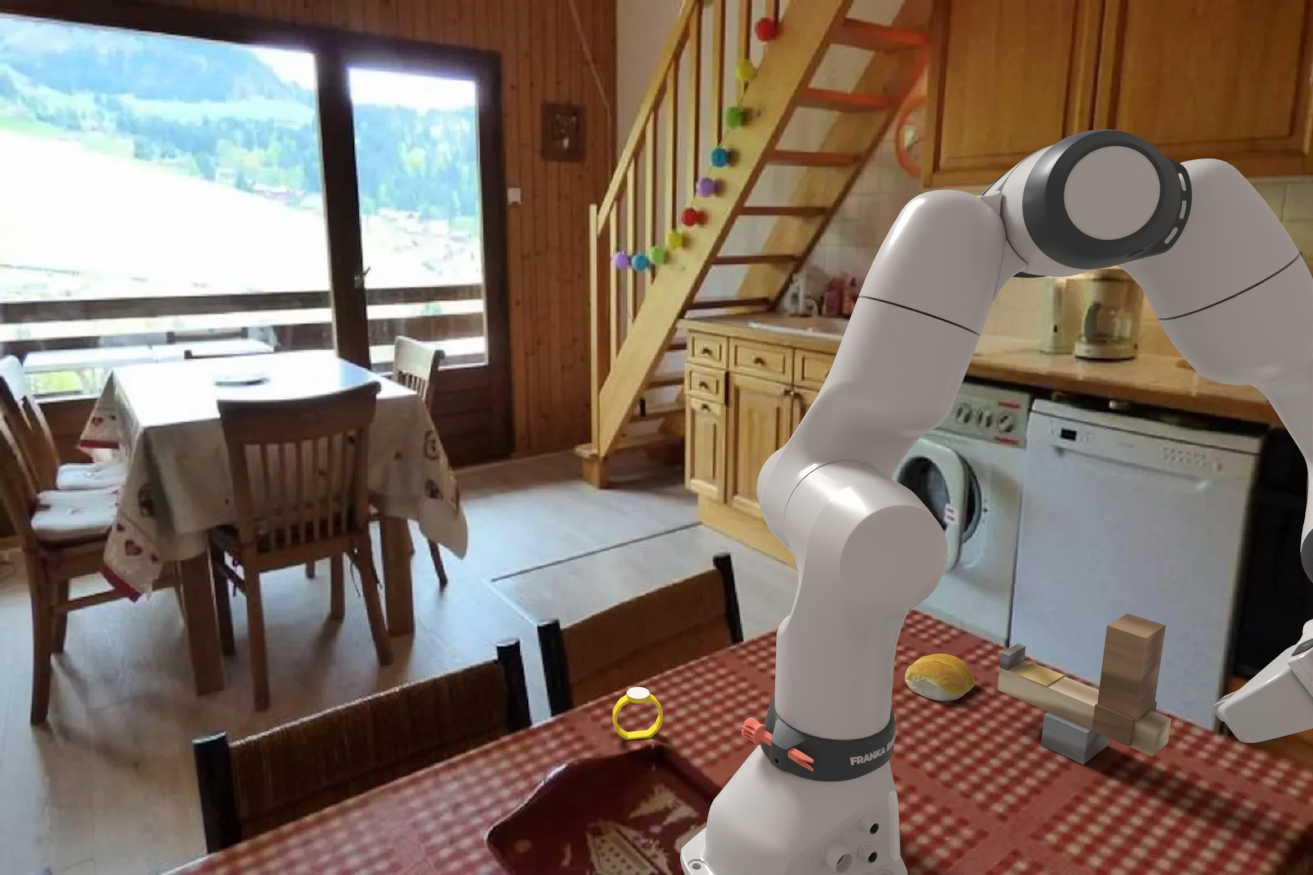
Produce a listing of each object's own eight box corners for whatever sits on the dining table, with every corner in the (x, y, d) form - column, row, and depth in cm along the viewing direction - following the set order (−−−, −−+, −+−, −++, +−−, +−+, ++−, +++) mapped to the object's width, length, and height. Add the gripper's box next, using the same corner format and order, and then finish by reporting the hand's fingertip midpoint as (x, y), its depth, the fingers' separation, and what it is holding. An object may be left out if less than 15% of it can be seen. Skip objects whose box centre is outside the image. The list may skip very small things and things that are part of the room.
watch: (659, 729, 105) (662, 685, 104) (662, 742, 103) (666, 697, 102) (610, 731, 104) (613, 687, 103) (613, 744, 102) (616, 699, 100)
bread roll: (982, 684, 116) (984, 656, 115) (953, 710, 109) (955, 681, 108) (925, 664, 121) (927, 638, 120) (894, 687, 115) (895, 660, 114)
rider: (1128, 746, 93) (1143, 640, 90) (1091, 730, 96) (1104, 627, 93) (1153, 726, 97) (1168, 623, 94) (1116, 712, 100) (1130, 611, 97)
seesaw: (1143, 792, 93) (1154, 717, 91) (990, 721, 106) (996, 655, 104) (1166, 771, 96) (1177, 699, 94) (1016, 705, 110) (1022, 641, 108)
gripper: (1364, 598, 86) (1237, 652, 95) (1296, 659, 73) (1159, 714, 83) (1412, 656, 83) (1278, 705, 93) (1351, 729, 71) (1203, 777, 81)
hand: (1221, 710), depth 88 cm, fingers closed
